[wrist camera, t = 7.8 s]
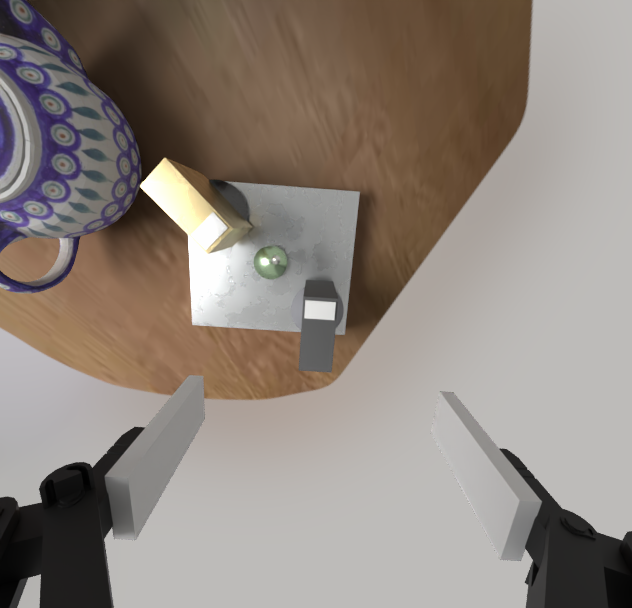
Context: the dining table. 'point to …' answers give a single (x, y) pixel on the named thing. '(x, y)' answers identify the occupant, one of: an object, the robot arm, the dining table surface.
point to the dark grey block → (317, 323)
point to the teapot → (56, 144)
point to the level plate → (276, 258)
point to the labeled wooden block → (199, 205)
